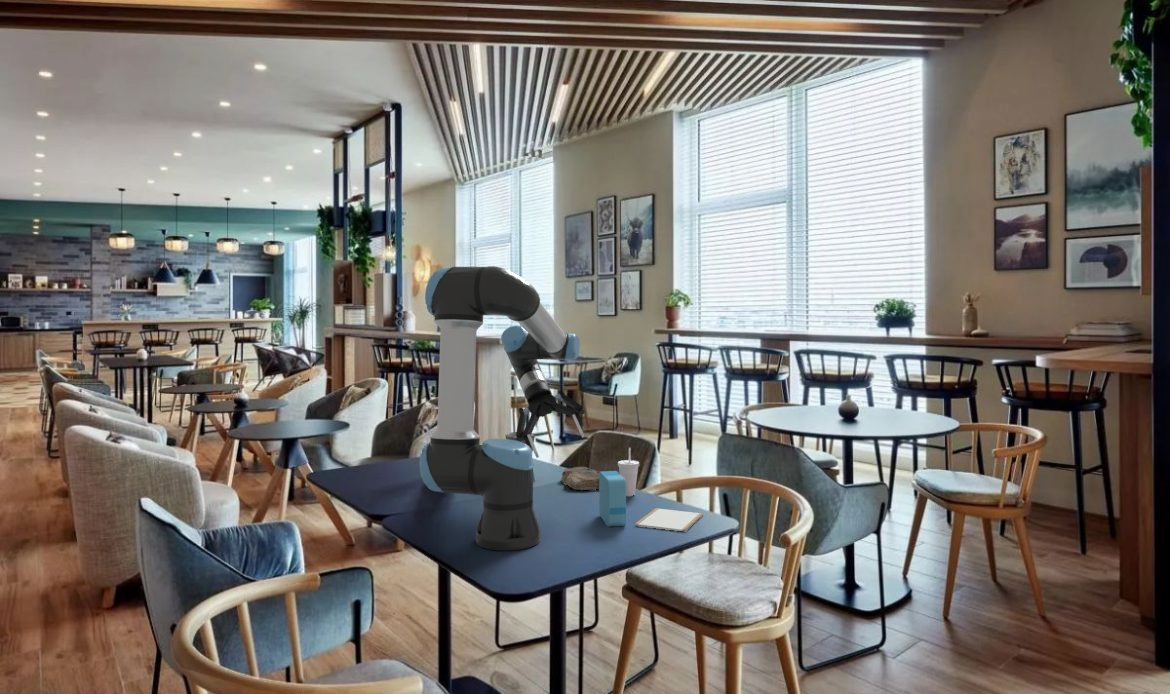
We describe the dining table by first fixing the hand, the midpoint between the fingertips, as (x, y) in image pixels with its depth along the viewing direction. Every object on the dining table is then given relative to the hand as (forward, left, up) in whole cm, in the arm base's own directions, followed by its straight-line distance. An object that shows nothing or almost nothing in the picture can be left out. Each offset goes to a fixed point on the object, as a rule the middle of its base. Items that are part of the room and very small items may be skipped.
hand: (559, 444), depth 197 cm
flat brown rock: (+30, +6, -18) cm, 35 cm away
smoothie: (+22, -12, -18) cm, 30 cm away
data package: (-5, -18, -18) cm, 26 cm away
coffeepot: (+25, +26, -18) cm, 40 cm away
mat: (+1, -31, -17) cm, 36 cm away
